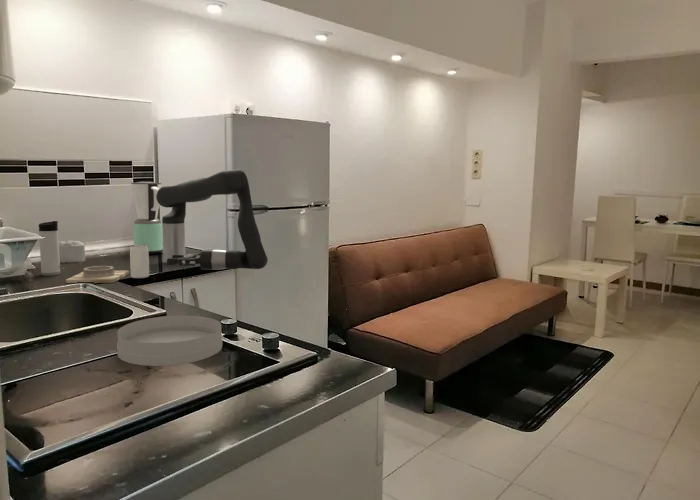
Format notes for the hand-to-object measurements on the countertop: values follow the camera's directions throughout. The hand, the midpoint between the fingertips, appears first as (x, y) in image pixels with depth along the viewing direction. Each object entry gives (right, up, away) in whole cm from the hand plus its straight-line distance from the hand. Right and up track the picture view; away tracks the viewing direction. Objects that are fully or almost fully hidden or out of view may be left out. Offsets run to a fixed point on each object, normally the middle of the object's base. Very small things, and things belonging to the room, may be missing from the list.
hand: (169, 259), depth 202 cm
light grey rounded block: (-56, -1, +35) cm, 66 cm away
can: (-11, -7, 0) cm, 13 cm away
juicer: (-30, +1, +59) cm, 66 cm away
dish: (+28, -19, -83) cm, 89 cm away
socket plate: (-25, -7, -4) cm, 26 cm away
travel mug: (-46, -6, +2) cm, 46 cm away
